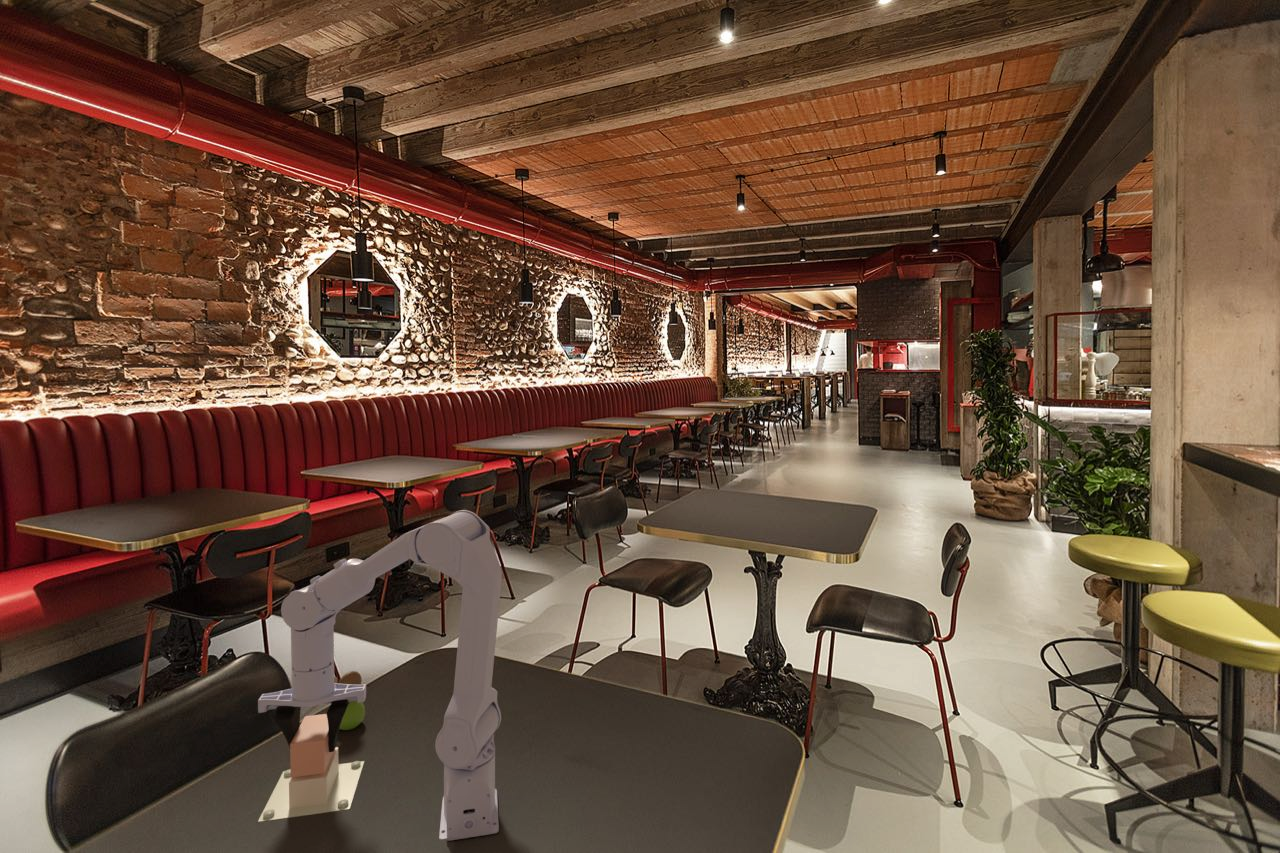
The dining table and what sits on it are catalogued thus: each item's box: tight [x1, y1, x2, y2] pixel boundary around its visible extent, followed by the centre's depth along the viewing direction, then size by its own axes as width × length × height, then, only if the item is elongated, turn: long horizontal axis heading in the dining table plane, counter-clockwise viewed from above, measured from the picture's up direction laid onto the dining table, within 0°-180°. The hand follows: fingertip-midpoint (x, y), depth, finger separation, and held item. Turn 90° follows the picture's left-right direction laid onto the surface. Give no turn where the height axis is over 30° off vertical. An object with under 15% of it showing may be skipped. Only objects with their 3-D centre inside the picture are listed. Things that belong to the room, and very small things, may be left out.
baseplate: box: [257, 760, 365, 823], centre depth 95 cm, size 12×12×1 cm
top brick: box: [289, 713, 333, 777], centre depth 95 cm, size 8×4×5 cm, turn 14°
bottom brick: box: [289, 746, 340, 809], centre depth 95 cm, size 8×5×4 cm, turn 14°
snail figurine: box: [334, 670, 366, 731], centre depth 113 cm, size 5×6×12 cm
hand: (314, 750), depth 95 cm, fingers closed on top brick, 4 cm apart
